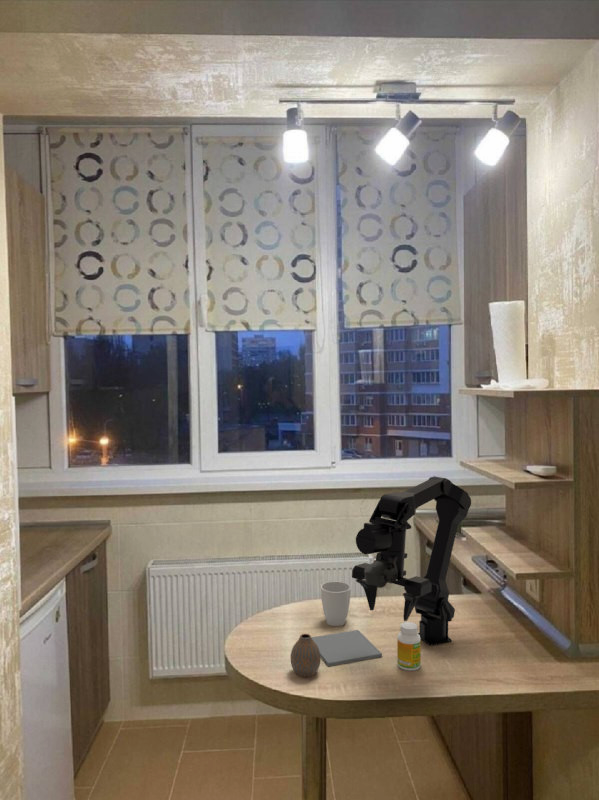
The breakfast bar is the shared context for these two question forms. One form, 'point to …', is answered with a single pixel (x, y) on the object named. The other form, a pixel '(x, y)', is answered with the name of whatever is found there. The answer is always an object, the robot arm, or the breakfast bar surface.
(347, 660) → the slate mat
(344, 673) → the breakfast bar surface
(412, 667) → the supplement bottle
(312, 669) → the vase
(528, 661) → the breakfast bar surface
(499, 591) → the breakfast bar surface
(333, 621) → the cup
